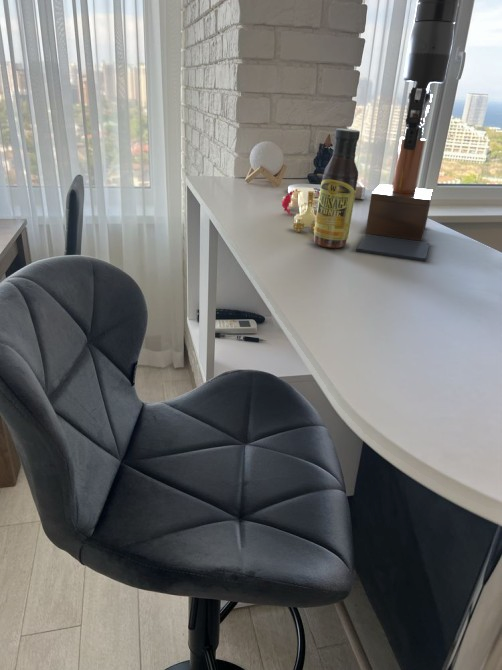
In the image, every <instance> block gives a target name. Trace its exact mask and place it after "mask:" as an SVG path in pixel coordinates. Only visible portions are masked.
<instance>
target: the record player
mask: <svg viewBox="0 0 502 670" xmlns="http://www.w3.org/2000/svg"><path fill="white" fill-rule="evenodd" d="M294 187H307V188H314V190H316V192H315V198H319V194H317V193H318V192H319V193H320V189H321V184H315V183H295V184H290V185H288V188H287V189H288V190H287V192H288V194H290V192H291V191H293V188H294ZM365 196H366V186H365V185H364V184H363V183H362V182H361V181H357V185H356V194H355V199H354V200H364V199H365Z"/></svg>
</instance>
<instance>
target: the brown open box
mask: <svg viewBox="0 0 502 670" xmlns="http://www.w3.org/2000/svg"><path fill="white" fill-rule="evenodd" d="M391 188H392V184H381V183H380V184H379V185H377V186H376V188H374V190H373V191H372V192H371V194H370V200H369V207H368V213H367V220H366V227H365V234H368V235H375V236H382V237H389V238H396V239H404V240H411V241H418V242H423V237H424V232H425V229H426V225H427V221H428V217H429V211H430V206H431V202H432V197H433V191H434V190H433V189H427V188H418V187H417V188H416V193H414V194H404V193H397V192H393V191H391Z"/></svg>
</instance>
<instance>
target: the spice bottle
mask: <svg viewBox="0 0 502 670" xmlns="http://www.w3.org/2000/svg"><path fill="white" fill-rule="evenodd" d="M407 128H408V127H406V126H405V134H404V136H401V137H399V142H398V147H397V154H396V159H395V166H394V171H393V176H392V177H393V178H392V183H391V185H392V188H391V191H393V192H397V193H404V194H414V193H416V188H418V182H419V177H420V172H421V167H422V161H423V156H424V150H425V146H426V140H427V139H425V138H423V134H424V127H422V128H417V129H419V133H418V139H417V144H416V148H415V149H414V150H406V149H404V147H403V146H404V141H405V135H406V129H407Z"/></svg>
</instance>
